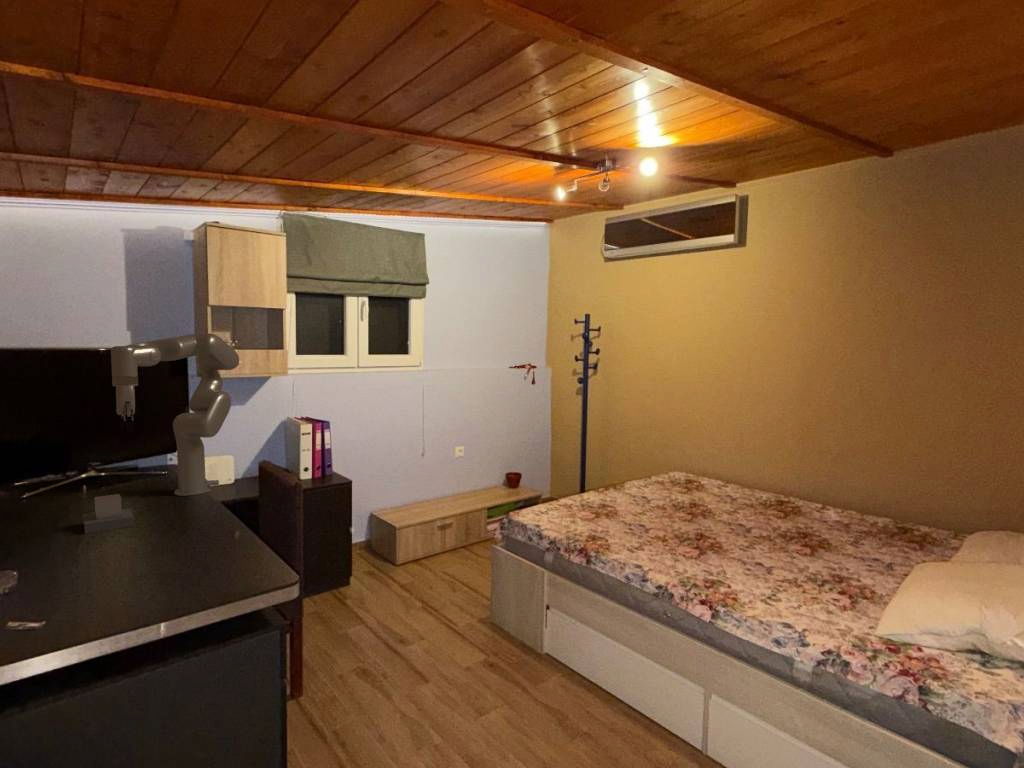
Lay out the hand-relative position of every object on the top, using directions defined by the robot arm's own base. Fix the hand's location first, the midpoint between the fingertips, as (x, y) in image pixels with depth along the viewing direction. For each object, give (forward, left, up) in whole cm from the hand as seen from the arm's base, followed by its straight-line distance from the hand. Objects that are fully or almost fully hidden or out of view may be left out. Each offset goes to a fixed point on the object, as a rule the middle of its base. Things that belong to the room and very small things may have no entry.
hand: (127, 430), depth 211 cm
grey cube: (+7, +15, -25) cm, 31 cm away
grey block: (+8, +16, -28) cm, 33 cm away
